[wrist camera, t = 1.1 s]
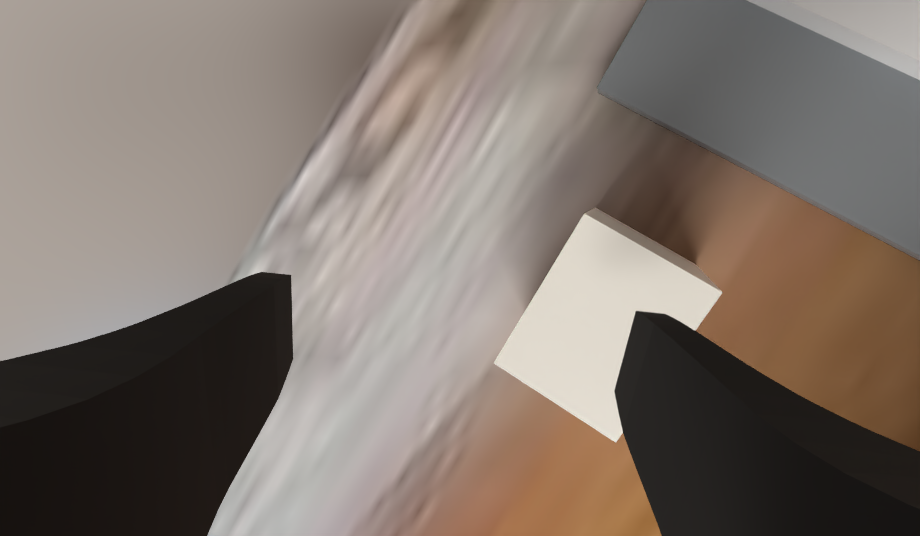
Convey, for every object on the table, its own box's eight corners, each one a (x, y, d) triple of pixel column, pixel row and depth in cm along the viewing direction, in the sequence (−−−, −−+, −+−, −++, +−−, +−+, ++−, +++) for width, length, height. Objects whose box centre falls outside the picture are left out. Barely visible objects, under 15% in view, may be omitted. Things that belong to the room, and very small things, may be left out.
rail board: (1197, -49, 15) (1293, -90, 12) (936, 269, 17) (979, 279, 15) (772, -212, 17) (793, -269, 15) (598, 92, 19) (594, 80, 17)
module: (696, 264, 19) (722, 292, 14) (618, 377, 20) (615, 442, 15) (595, 207, 20) (584, 213, 15) (526, 320, 21) (493, 363, 16)
